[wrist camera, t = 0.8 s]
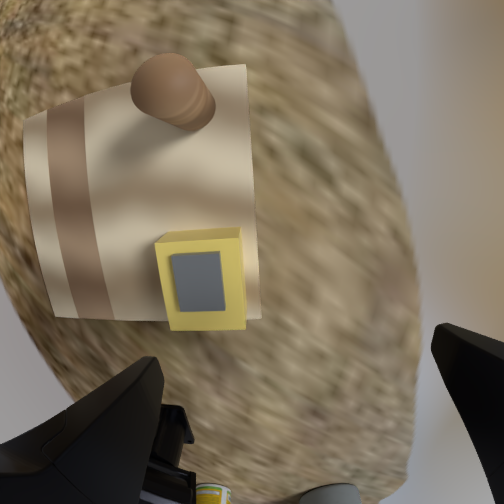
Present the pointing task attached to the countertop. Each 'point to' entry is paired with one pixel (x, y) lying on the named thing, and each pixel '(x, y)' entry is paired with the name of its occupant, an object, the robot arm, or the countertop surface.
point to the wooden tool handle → (173, 92)
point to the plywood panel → (135, 195)
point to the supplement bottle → (212, 494)
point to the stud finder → (203, 279)
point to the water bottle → (332, 495)
